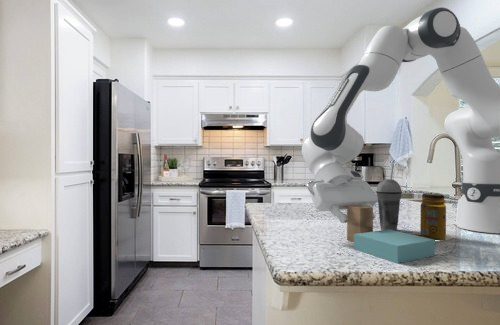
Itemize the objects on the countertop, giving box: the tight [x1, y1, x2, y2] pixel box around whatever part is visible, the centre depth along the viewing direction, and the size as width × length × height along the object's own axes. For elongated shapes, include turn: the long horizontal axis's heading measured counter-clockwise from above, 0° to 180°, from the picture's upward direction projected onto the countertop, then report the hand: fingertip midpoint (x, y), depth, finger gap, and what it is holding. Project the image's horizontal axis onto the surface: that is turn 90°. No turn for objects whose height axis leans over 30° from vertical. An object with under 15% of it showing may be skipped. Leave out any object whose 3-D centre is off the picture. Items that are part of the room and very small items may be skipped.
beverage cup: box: [375, 164, 403, 231], centre depth 96 cm, size 7×7×20 cm
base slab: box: [353, 229, 436, 264], centre depth 72 cm, size 12×12×4 cm
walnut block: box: [346, 205, 374, 243], centre depth 83 cm, size 4×4×9 cm
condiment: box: [415, 193, 453, 244], centre depth 86 cm, size 7×8×12 cm
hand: (359, 220), depth 83 cm, fingers open, 8 cm apart
